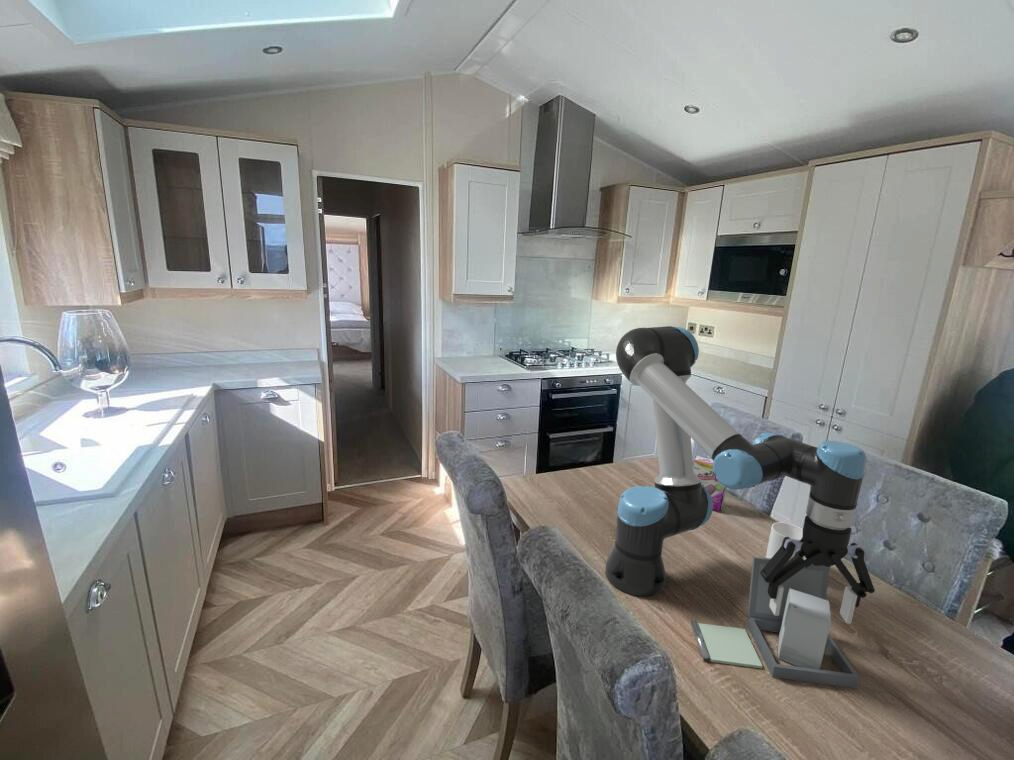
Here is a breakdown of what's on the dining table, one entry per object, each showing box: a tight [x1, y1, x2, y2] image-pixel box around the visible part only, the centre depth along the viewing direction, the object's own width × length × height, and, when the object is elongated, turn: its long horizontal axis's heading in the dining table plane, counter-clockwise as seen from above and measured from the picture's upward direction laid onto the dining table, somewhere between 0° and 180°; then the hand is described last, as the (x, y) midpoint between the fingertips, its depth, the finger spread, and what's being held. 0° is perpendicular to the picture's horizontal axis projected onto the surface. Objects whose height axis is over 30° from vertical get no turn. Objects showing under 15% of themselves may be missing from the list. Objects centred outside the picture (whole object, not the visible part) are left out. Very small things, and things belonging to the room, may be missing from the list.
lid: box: [747, 556, 830, 621], centre depth 103 cm, size 16×14×1 cm
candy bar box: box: [693, 455, 727, 514], centre depth 156 cm, size 11×5×16 cm, turn 58°
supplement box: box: [777, 589, 832, 670], centre depth 96 cm, size 7×7×13 cm
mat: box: [697, 622, 764, 669], centre depth 99 cm, size 10×10×1 cm
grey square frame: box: [746, 616, 861, 689], centre depth 97 cm, size 16×14×2 cm
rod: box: [690, 619, 710, 662], centre depth 100 cm, size 1×10×1 cm, turn 172°
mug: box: [765, 521, 805, 560], centre depth 127 cm, size 9×12×11 cm
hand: (809, 615), depth 95 cm, fingers open, 13 cm apart
